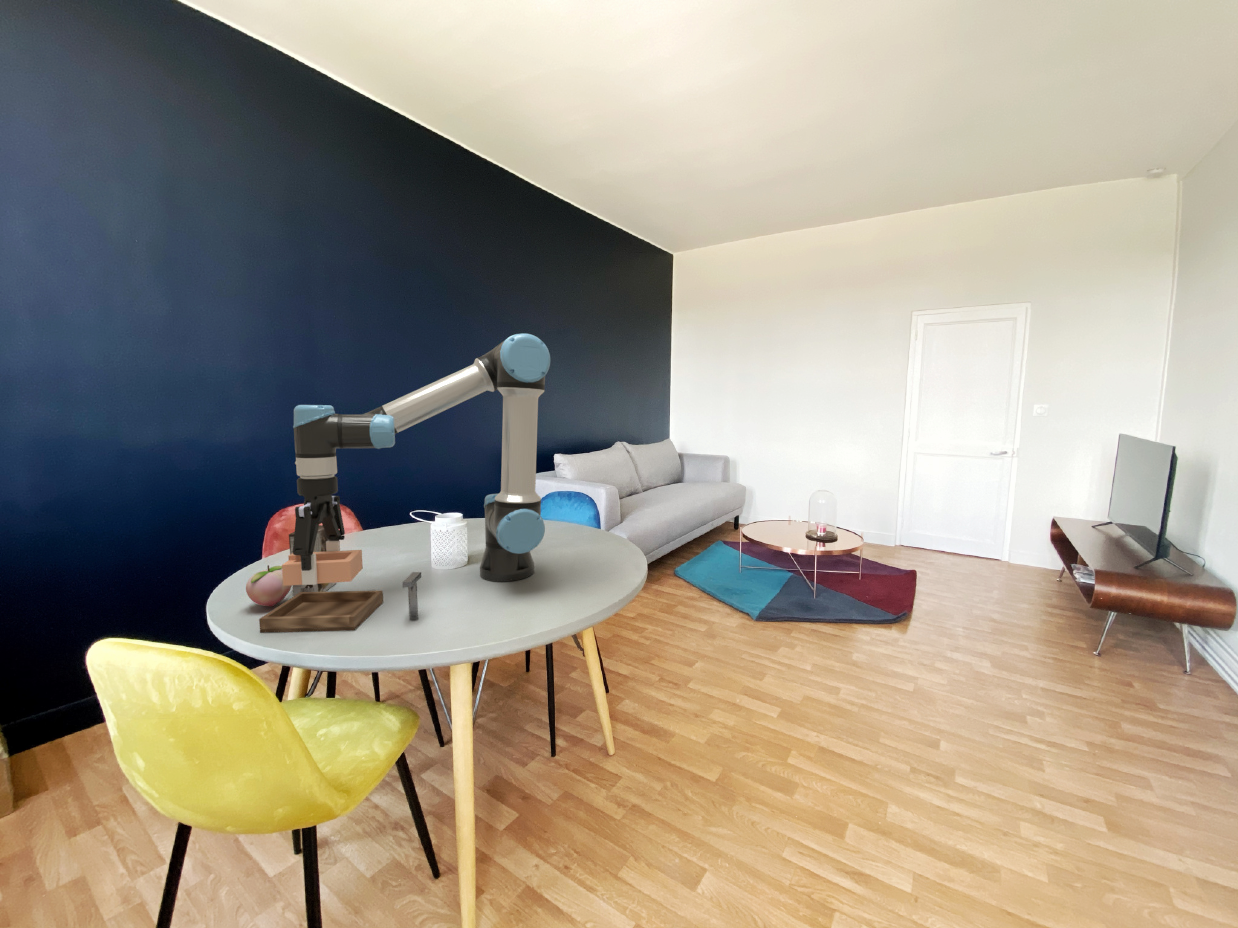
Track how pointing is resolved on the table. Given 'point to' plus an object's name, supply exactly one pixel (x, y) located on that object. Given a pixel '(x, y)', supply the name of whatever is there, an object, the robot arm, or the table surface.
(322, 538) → the coffee box
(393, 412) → the robot arm
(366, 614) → the tray
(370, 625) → the table surface
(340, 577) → the terracotta rectangular box
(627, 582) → the table surface
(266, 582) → the decorative fruit
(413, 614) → the grey t-shaped block
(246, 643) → the table surface
